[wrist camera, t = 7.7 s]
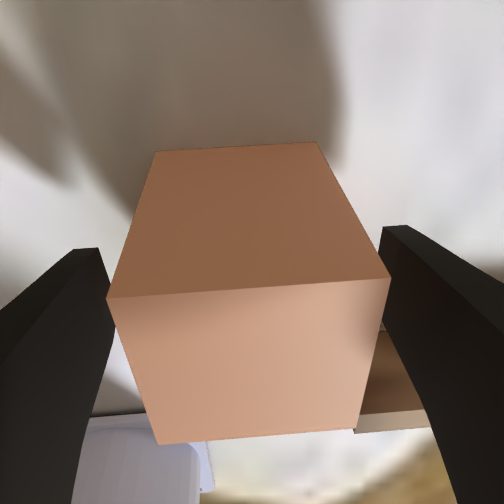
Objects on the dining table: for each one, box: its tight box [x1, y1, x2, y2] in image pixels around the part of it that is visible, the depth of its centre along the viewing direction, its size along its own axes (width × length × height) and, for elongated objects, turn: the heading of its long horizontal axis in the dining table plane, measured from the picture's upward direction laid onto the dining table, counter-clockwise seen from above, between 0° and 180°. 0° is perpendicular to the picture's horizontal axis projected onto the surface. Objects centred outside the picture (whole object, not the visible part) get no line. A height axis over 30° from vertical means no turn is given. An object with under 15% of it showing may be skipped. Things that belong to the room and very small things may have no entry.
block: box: [106, 142, 391, 445], centre depth 10 cm, size 4×4×6 cm
